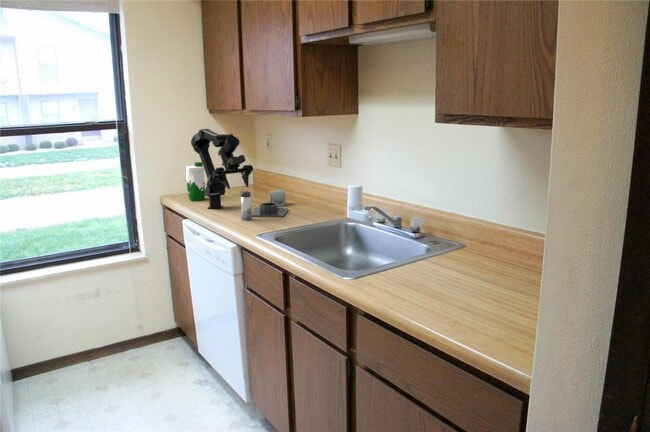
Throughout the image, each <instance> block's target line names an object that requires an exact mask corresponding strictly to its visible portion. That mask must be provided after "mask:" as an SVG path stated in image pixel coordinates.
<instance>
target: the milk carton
mask: <svg viewBox="0 0 650 432" xmlns="http://www.w3.org/2000/svg"><path fill="white" fill-rule="evenodd" d="M185 171H186V172H185V175H186V188H187V195H188V196H187V197H188V199H189V201H191V202H199V201H206V196H205V193H204V191H205V189H206V185H205V170H204V167H203V164H202V161H198V162H197V161H196V162H194V165H189V166H185Z"/></svg>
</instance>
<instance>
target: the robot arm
mask: <svg viewBox="0 0 650 432" xmlns="http://www.w3.org/2000/svg"><path fill="white" fill-rule="evenodd" d="M211 143H212V145H213V146H214V147H215V148H219V150H218V152H217V155H218V156H220V158H221V162H222V163H221V166H222V167H215V166H214V163H213V160H212V157H211V155H210V151H209V148H210V144H211ZM190 144H191V145H190V146H191V147H192V148H193V150H194V152H196V153H197V154H198V155H199V158H200V160H201V161H200V162H202V165H203V167H204V173H205V175H206V178H207V180H206V185H205V191H204V193H205V197H208V204H209V206H208V207H207V209H209V210H210V209H211V210H212V209H213V210H218V209H222V208H223V207H224V205H222V197H221V196H225V194H226V188H227V190H231V187H230V183H229V181H228V179H227V175H229V174H230V175H231V174H233V175H234V174H241V178H242V180H243V183H244V185H245V187H246V188H248V187H249V178H250V177H249V176H250V175H251V173H253V171H254V167H253V165H252V164H244V165H243V166H242V168H240V167H241V164H243V163H244V162H246V157H245V154H240V155H239V156H235V155H234V152H235V151H237V150H236V149H238V147H239V145H240V139H238V137H236V136H234V133H228V134H227V133H225V134H224V133H223V134H221V133H218V132H215V131H213V130H211V129H210V128H201V129H199V130H198V132H196V133H195V134H194V135H193V136H192V138H191V140H190Z"/></svg>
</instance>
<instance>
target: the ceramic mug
mask: <svg viewBox="0 0 650 432" xmlns="http://www.w3.org/2000/svg"><path fill="white" fill-rule="evenodd" d="M266 196H267V198H266V199H267V200H266V201H267V203H277V204H278V208H283V207H284V205H285V204H286V200H287V198H286V192H285V190H284V188H283V189H282V188H281V189H275V190H270V191H267V194H266Z"/></svg>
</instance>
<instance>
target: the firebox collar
mask: <svg viewBox="0 0 650 432" xmlns="http://www.w3.org/2000/svg"><path fill="white" fill-rule="evenodd" d="M288 211H289V208H288V207H278V204H277V203H268V202H262V203H260V204H259V207H255V209H253V210H251V217H252V218H284V217H285V215H287V213H288Z"/></svg>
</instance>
